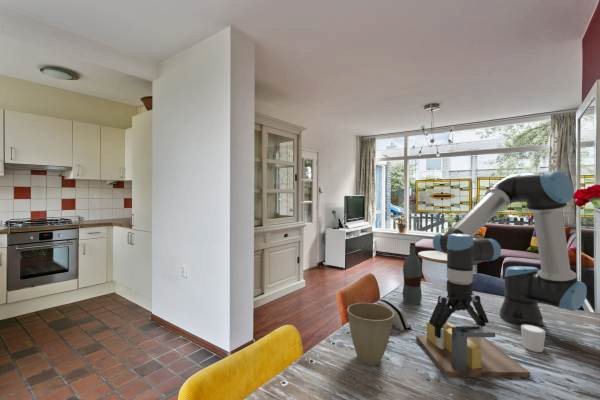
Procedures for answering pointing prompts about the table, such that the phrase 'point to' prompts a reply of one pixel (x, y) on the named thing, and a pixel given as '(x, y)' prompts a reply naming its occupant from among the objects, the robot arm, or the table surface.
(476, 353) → the link
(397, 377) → the table surface
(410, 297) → the bottle
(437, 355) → the board
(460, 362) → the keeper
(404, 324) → the white d-shaped block
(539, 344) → the white cylinder
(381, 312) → the plant pot
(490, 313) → the table surface
